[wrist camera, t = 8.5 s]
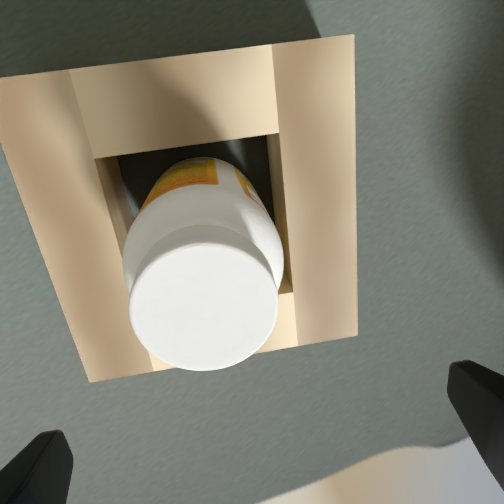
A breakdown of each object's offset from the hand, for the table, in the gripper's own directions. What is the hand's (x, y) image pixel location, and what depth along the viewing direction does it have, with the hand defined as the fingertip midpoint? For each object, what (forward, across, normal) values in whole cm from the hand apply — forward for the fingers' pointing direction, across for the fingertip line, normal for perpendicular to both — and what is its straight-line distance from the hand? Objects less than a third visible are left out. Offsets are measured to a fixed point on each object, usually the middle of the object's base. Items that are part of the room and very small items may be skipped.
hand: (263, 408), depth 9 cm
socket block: (+12, +1, -2) cm, 12 cm away
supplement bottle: (+12, +1, -2) cm, 12 cm away
